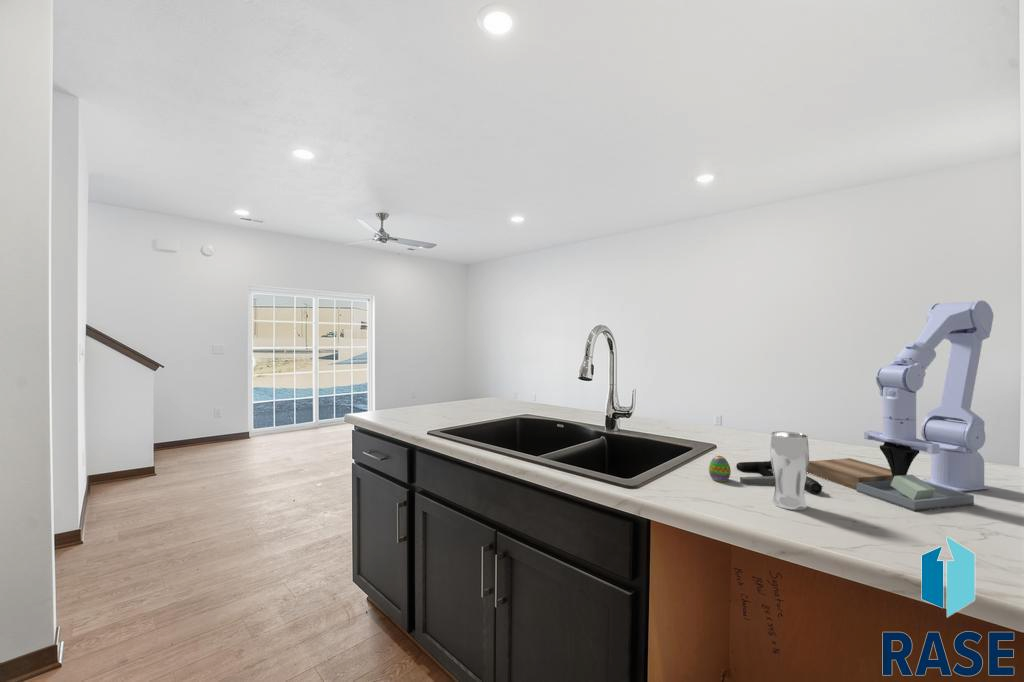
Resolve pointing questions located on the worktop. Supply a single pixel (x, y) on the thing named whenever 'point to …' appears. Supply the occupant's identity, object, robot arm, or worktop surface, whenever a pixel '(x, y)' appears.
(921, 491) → the block
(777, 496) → the beer glass
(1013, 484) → the worktop surface
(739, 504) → the worktop surface
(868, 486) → the tray
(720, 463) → the egg
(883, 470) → the wooden cutting board
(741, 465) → the door handle
